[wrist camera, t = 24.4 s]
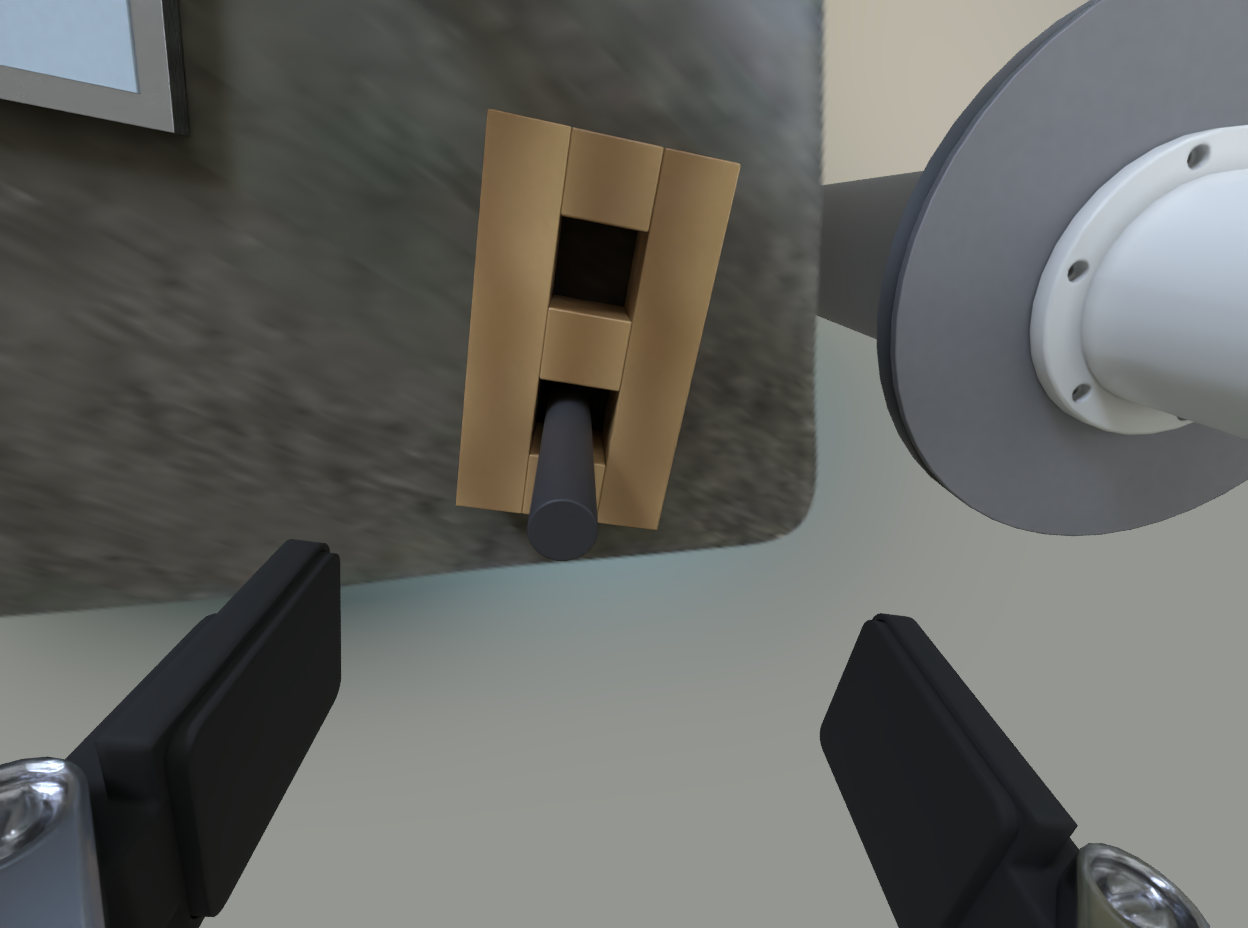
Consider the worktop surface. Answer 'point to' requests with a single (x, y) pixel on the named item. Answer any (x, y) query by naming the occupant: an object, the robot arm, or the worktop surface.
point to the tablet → (96, 59)
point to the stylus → (565, 479)
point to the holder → (586, 308)
